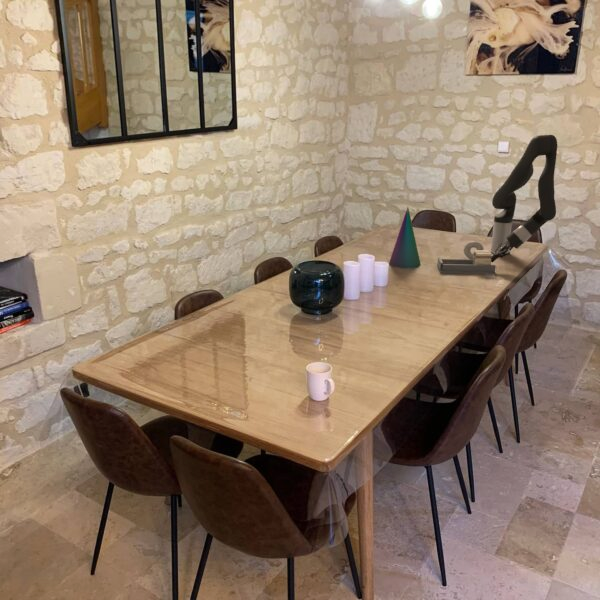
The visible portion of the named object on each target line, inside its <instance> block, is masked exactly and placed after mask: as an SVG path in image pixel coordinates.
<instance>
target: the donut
mask: <svg viewBox="0 0 600 600" xmlns="http://www.w3.org/2000/svg"><path fill="white" fill-rule="evenodd" d="M473 248H475V250H485V249H484V245H483V244H482V243H481V242H479V241H476V240H471V241H468V242H467V243H466V244H465V246H464V248H463V253H464V256H465V257H466V258H467V259H473V256H474V252H471V249H473Z"/></svg>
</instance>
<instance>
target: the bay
mask: <svg viewBox="0 0 600 600" xmlns="http://www.w3.org/2000/svg"><path fill="white" fill-rule="evenodd" d="M436 266H437V269H438V270H439V273H440V274H451V275H454V274H455V275H492V274H495V275H496V274H497V273H496V265H495V264H491V265H473V259H469V258H467V259H466V258H442V257H441V256H438V257H437V264H436Z"/></svg>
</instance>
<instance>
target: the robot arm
mask: <svg viewBox="0 0 600 600" xmlns="http://www.w3.org/2000/svg"><path fill="white" fill-rule="evenodd" d="M557 152H558V140H557V137H556V136H555V135H554V134H543V135H541V134H540V135H536V136H533V137H532V138H531V139H530V141H529V143H528V145H527V147H526V148H525V150H524V152H523V155H522V156H521V157H520V159H519V161H518V163H517V164H516V165H515V167H514V168H513V170H512V171H511V173H510V174H509V176H508V177H507V178H506V180H505V181H504V182H503V184H502V185H501V186H500V187H499V189H497V191H496V192H495V193H494V195H493V197H492V201H491V202H492V207H493V208H494V209H496V210H502V211H501V212H500V213H498V214H496V215H494V218H493V225H492V226H493V228H492V237H491V247H490V253H491V254H492V255H491V256H492V258H491V263H494V262H495V261H496V260H497V259H499V258H500V259H502V258H504V257H506V256H508V255H510V254H511V251H512V250H513V249H514V248H515V249H519V248H520V247H522V245H523V244H525V243H526V242H527V241H528V240H529V239H530V238H532V236H533V235H535V234H536V232H538V231H539V230H540V229H541V227H542V226H543V225H545V224H546V223H547V222H549V221H552V220H553V219H554V218H555V217H556V215H557V214H556V213H557V207H556V199H555V171H556V170H555V169H556V163H557V154H558V153H557ZM541 156H545V163H544V167H543V170H542V171H541V174H540V176H539V179H538V182H537V194H538V200H539V209H538V210H537V211H536V212H535V213H534V214H533V215H532V216H531V217H530V218H528V219H527V220H526V221H524V222H523V223H522V224H521V225H520V226H518V227H517V228H515V229H514V230H513V231H512V226H513V225H512V224H513V219H514V218H515V217H514V216H515V210H516V204H517V195H516V193H515V192H516V191H518V190H520V189H522V188H523V187H524V186H525V185H527V183H528V182H529V181H530V179H531V178H532V177H533V175H534V165H533V163H534V162H535V160H536V158H538V157H541Z"/></svg>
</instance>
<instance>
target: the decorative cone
mask: <svg viewBox="0 0 600 600" xmlns="http://www.w3.org/2000/svg"><path fill="white" fill-rule="evenodd" d="M413 227H414V226H413V223H412V218H411V213H410V209H409V206H407V207H406V211H405V213H404V217H403V220H402V222H401V226H400V229H399V232H398V235H397V238H396V241H395V244H394V247H393V250H392V253H391V256H390V259H389V261H388V264H389V266H391V267H394V268H397V269H398V268H399V269H414V268H415V269H416V268H419V267H420V266H421V265H422V264H421V259H420V255H419V250H418V246H417V241H416V237H415V232H414V231H415V230H414V228H413Z"/></svg>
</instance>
